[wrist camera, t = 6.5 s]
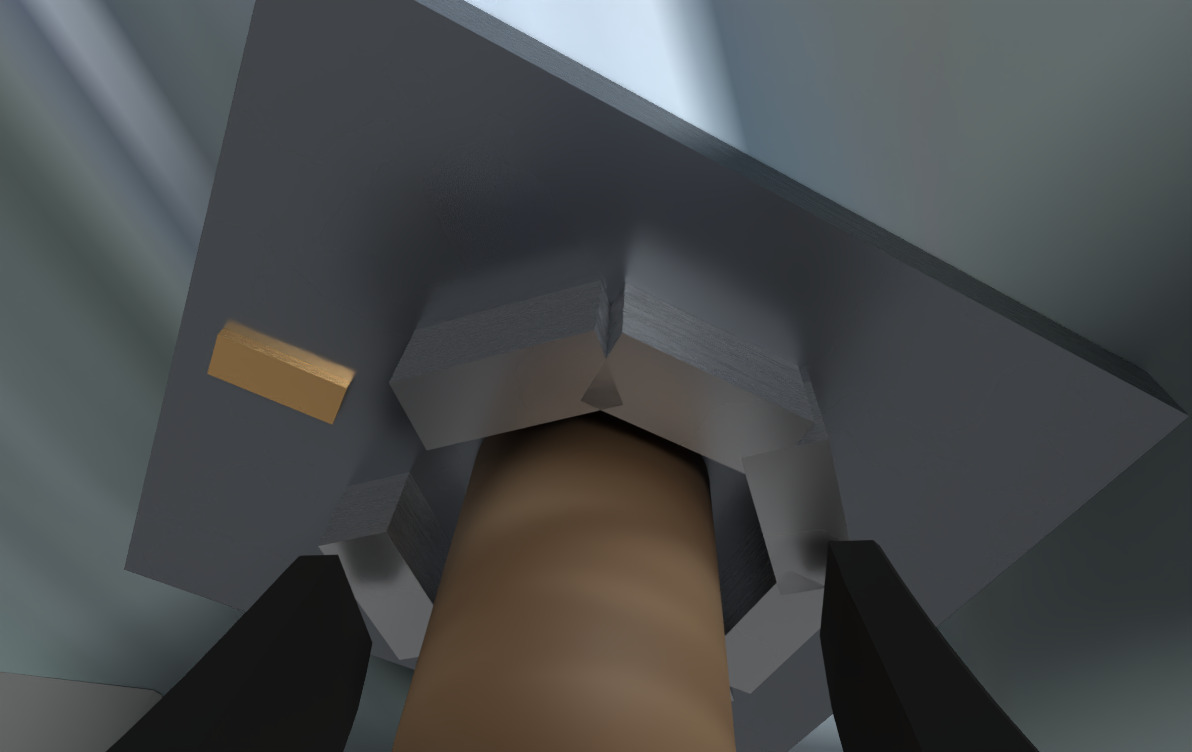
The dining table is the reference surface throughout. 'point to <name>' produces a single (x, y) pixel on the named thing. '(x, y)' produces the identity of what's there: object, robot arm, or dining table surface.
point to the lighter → (67, 713)
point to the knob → (577, 602)
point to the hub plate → (587, 345)
